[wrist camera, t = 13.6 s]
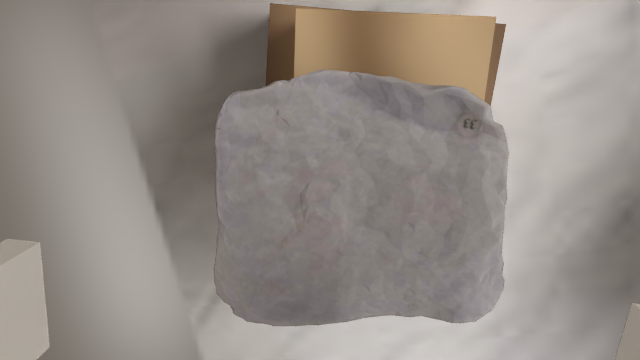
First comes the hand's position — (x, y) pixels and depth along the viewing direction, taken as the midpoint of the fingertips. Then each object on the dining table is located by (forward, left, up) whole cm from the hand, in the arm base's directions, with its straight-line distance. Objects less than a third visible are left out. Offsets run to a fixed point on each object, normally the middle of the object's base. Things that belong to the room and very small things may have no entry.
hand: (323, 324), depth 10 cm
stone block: (-1, -1, -10) cm, 10 cm away
